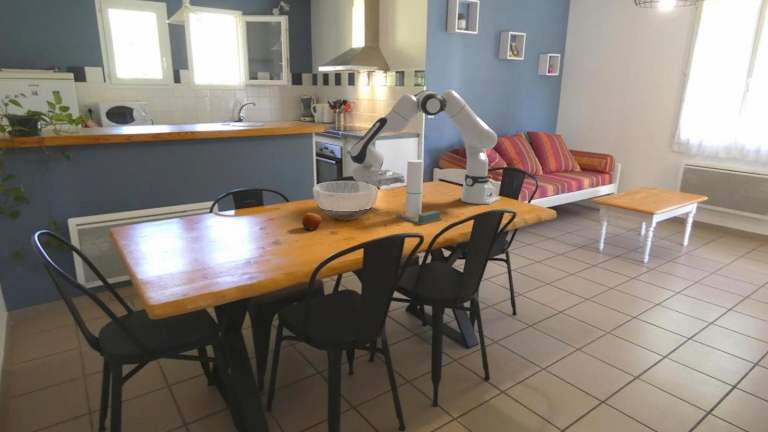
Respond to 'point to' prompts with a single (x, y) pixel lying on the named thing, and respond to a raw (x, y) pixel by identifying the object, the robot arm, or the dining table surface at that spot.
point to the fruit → (311, 221)
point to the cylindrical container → (414, 187)
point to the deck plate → (422, 217)
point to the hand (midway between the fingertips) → (396, 182)
